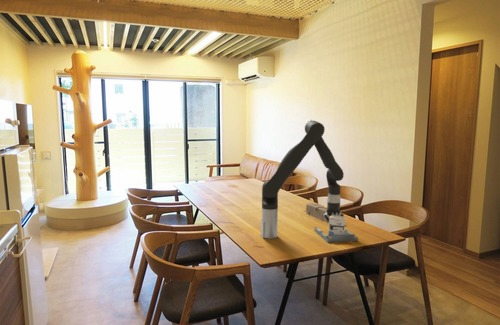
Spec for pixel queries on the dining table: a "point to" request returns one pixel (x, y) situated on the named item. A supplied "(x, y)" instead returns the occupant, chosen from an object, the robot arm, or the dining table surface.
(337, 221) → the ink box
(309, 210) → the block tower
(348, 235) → the channel
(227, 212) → the dining table surface
